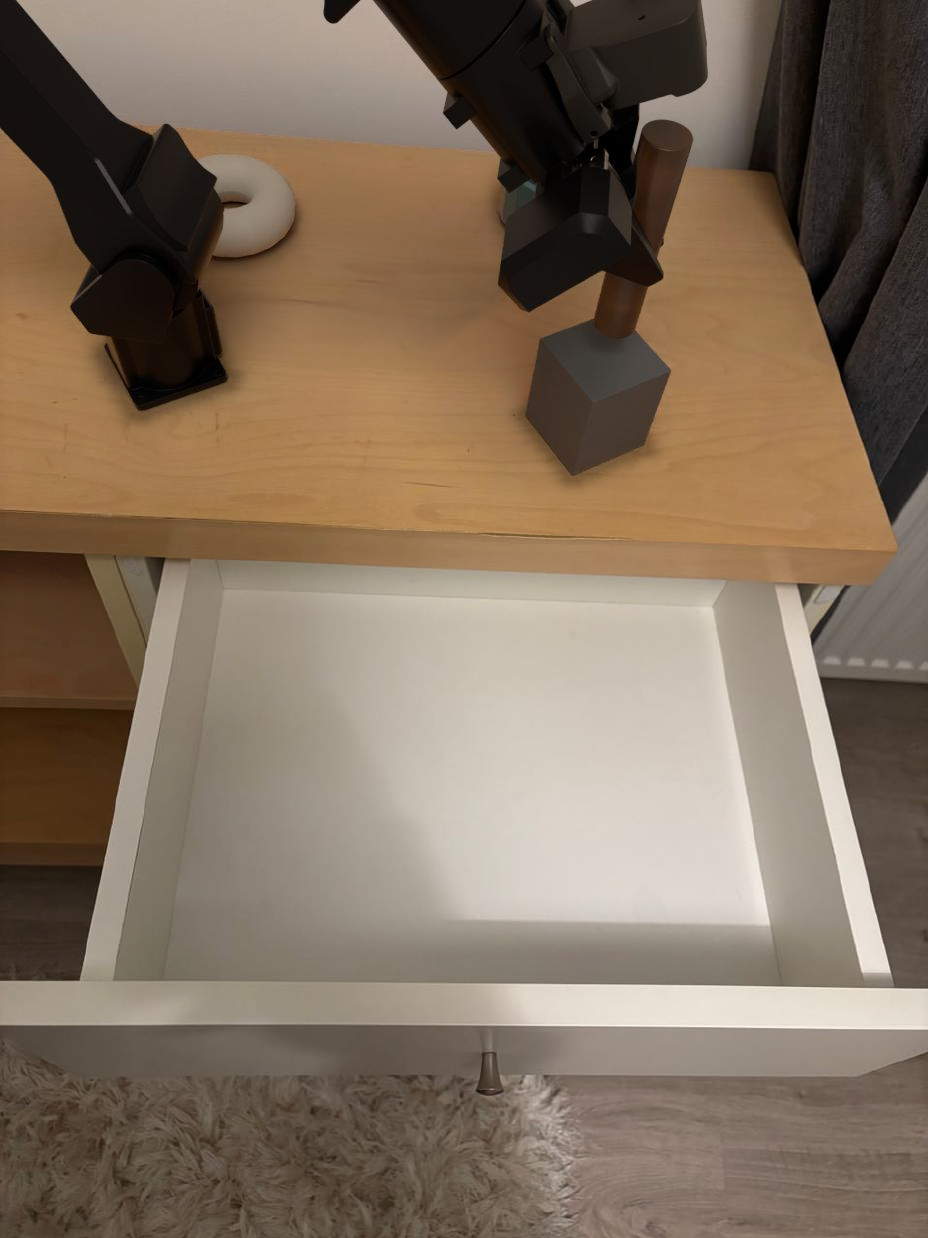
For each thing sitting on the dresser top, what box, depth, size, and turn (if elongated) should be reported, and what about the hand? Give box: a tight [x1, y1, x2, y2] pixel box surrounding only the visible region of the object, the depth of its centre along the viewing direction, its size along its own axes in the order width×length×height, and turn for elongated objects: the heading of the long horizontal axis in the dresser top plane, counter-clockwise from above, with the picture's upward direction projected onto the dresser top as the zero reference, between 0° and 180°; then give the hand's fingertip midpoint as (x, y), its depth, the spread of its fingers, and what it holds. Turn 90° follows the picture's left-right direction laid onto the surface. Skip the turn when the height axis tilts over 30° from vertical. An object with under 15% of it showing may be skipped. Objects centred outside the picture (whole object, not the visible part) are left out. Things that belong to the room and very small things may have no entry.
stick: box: [593, 118, 694, 339], centre depth 50 cm, size 3×3×12 cm
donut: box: [196, 153, 297, 258], centre depth 69 cm, size 10×4×10 cm
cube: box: [524, 318, 672, 476], centre depth 59 cm, size 6×6×7 cm
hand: (656, 264), depth 51 cm, fingers closed on stick, 2 cm apart
